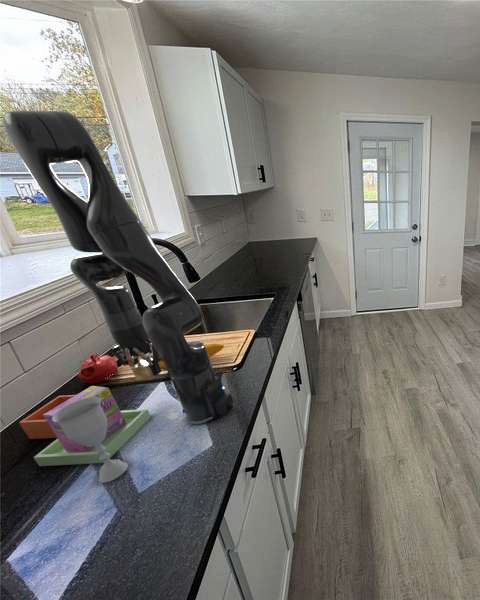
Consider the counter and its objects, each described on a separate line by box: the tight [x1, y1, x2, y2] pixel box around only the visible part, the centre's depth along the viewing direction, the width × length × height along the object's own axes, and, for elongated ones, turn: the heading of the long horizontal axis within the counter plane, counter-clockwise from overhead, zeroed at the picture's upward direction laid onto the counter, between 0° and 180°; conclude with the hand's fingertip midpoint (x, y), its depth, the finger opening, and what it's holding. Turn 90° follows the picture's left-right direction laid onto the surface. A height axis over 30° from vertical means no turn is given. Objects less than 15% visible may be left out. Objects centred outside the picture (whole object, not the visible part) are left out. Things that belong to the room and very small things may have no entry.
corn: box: [159, 343, 225, 371], centre depth 109 cm, size 7×8×20 cm
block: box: [130, 358, 163, 381], centre depth 93 cm, size 4×4×4 cm
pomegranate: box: [77, 352, 119, 384], centre depth 104 cm, size 10×10×9 cm
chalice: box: [52, 397, 129, 484], centre depth 67 cm, size 7×7×18 cm
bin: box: [18, 394, 76, 440], centre depth 84 cm, size 10×10×6 cm
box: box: [43, 385, 126, 453], centre depth 77 cm, size 10×6×12 cm, turn 169°
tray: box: [33, 408, 152, 467], centre depth 79 cm, size 16×15×3 cm
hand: (149, 374), depth 94 cm, fingers closed on block, 4 cm apart
